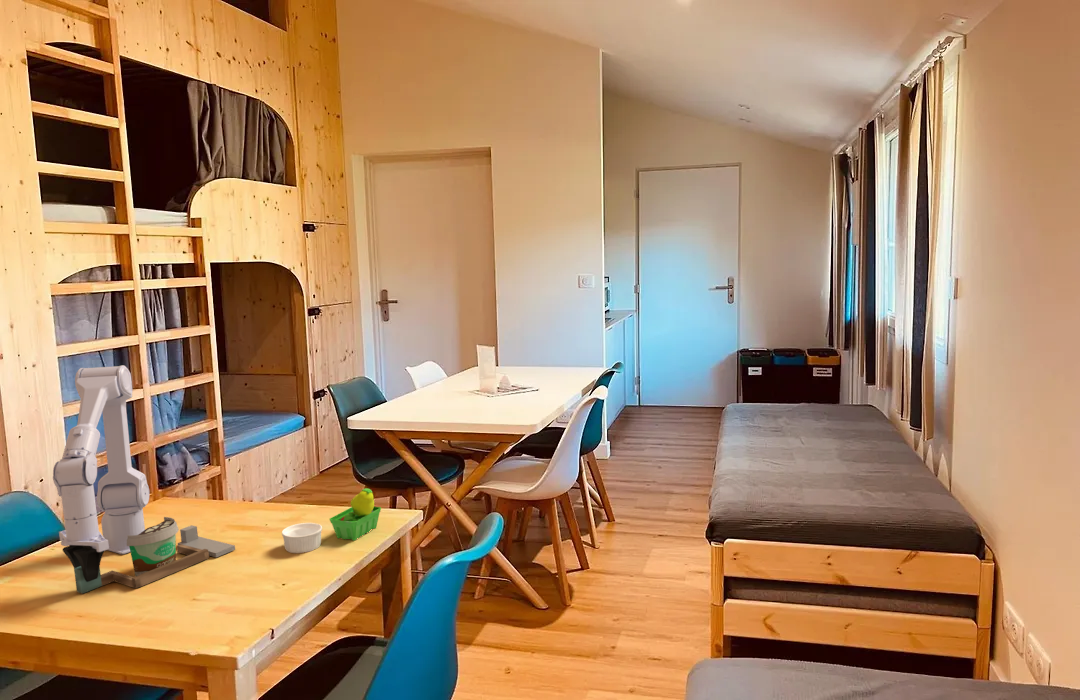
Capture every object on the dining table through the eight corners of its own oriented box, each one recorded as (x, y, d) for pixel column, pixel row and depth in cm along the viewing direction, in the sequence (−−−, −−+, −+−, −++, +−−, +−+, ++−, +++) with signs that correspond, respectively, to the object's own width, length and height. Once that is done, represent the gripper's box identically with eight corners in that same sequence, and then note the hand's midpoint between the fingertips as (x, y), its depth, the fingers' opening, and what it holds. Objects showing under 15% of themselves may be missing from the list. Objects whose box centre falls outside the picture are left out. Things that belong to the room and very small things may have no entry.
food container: (156, 583, 157) (151, 537, 156) (130, 582, 158) (125, 536, 157) (194, 559, 169) (190, 516, 168) (170, 558, 170) (165, 516, 169)
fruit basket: (358, 523, 188) (355, 479, 187) (388, 527, 185) (385, 482, 184) (329, 540, 178) (325, 493, 177) (360, 544, 175) (356, 497, 173)
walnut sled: (76, 591, 154) (73, 568, 153) (181, 550, 174) (179, 530, 174) (104, 601, 149) (101, 577, 148) (209, 558, 169) (206, 536, 168)
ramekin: (329, 540, 178) (327, 522, 178) (314, 554, 170) (312, 536, 169) (293, 539, 179) (291, 522, 179) (276, 554, 170) (275, 536, 170)
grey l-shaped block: (177, 547, 176) (176, 530, 176) (197, 539, 181) (195, 523, 180) (216, 557, 169) (214, 540, 169) (235, 549, 174) (233, 532, 173)
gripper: (40, 516, 154) (48, 579, 155) (80, 526, 146) (88, 593, 148) (76, 505, 160) (83, 566, 161) (115, 515, 152) (123, 579, 154)
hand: (88, 578), depth 155 cm, fingers closed on walnut sled, 2 cm apart
